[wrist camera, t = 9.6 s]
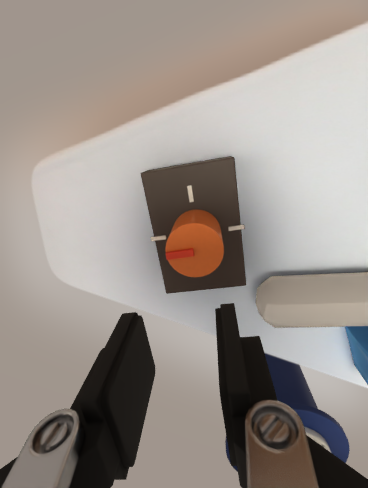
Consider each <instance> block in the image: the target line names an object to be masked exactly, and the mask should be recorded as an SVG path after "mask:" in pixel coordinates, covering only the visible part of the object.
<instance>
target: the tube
mask: <svg viewBox="0 0 368 488" xmlns="http://www.w3.org/2000/svg"><path fill="white" fill-rule="evenodd" d="M256 306H257V309H258V312H259V314H260V315H261V317H262V318H263V319H264V321H265V322H267V323H269V324H270V325H272V326H273V327H275V328H288V327H344V326H368V272H360V273H336V274H312V275H288V276H271V277H269V278H268V279H267V280H265V281H264V282H263V283H261V285H260V286H259V287H258V288H257V293H256Z"/></svg>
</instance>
